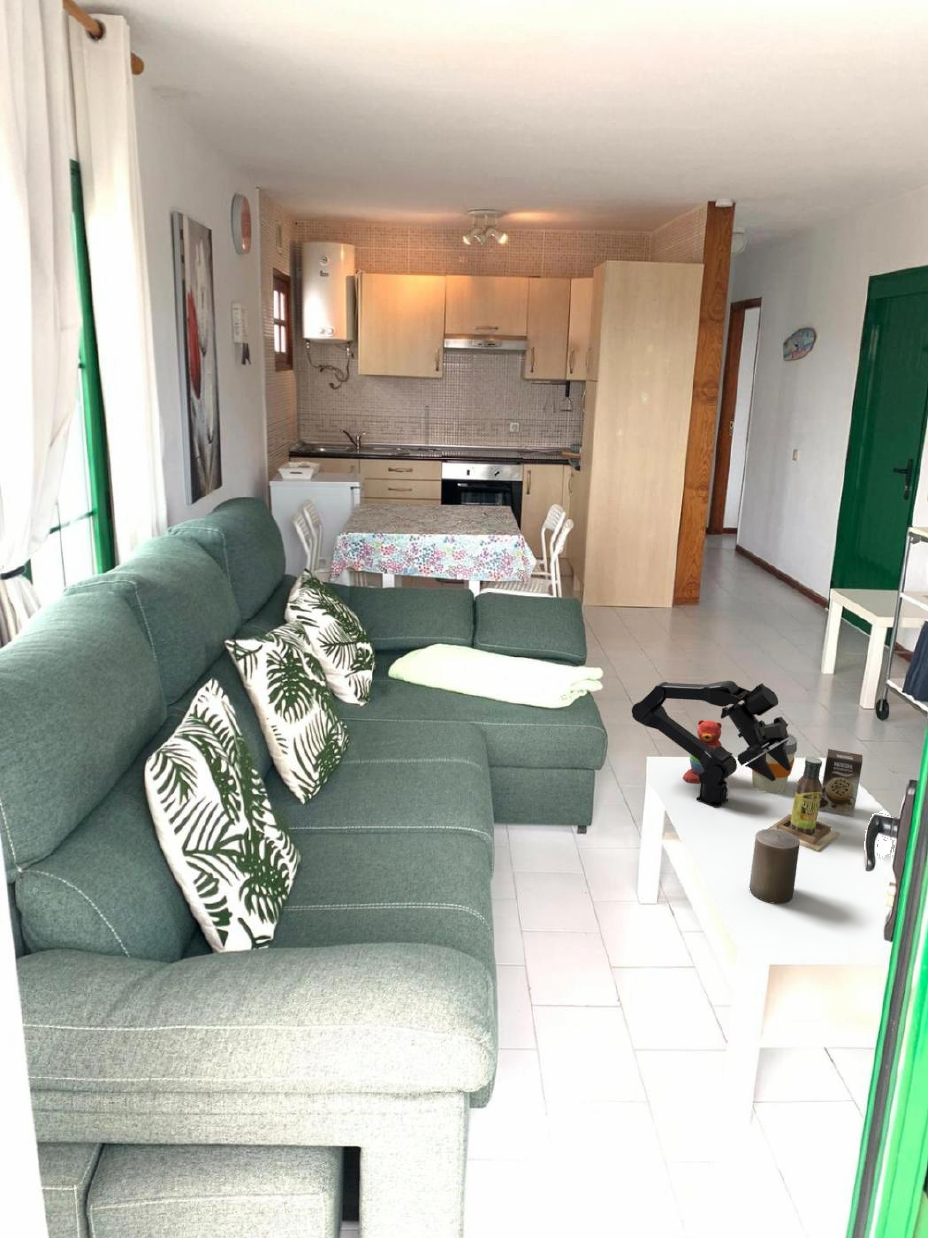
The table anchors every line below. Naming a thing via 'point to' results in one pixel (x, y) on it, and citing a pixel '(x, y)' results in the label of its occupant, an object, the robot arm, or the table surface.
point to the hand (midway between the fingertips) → (782, 775)
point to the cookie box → (840, 782)
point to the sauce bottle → (807, 798)
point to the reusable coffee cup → (776, 769)
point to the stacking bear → (710, 736)
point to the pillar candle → (774, 865)
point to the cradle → (812, 841)
